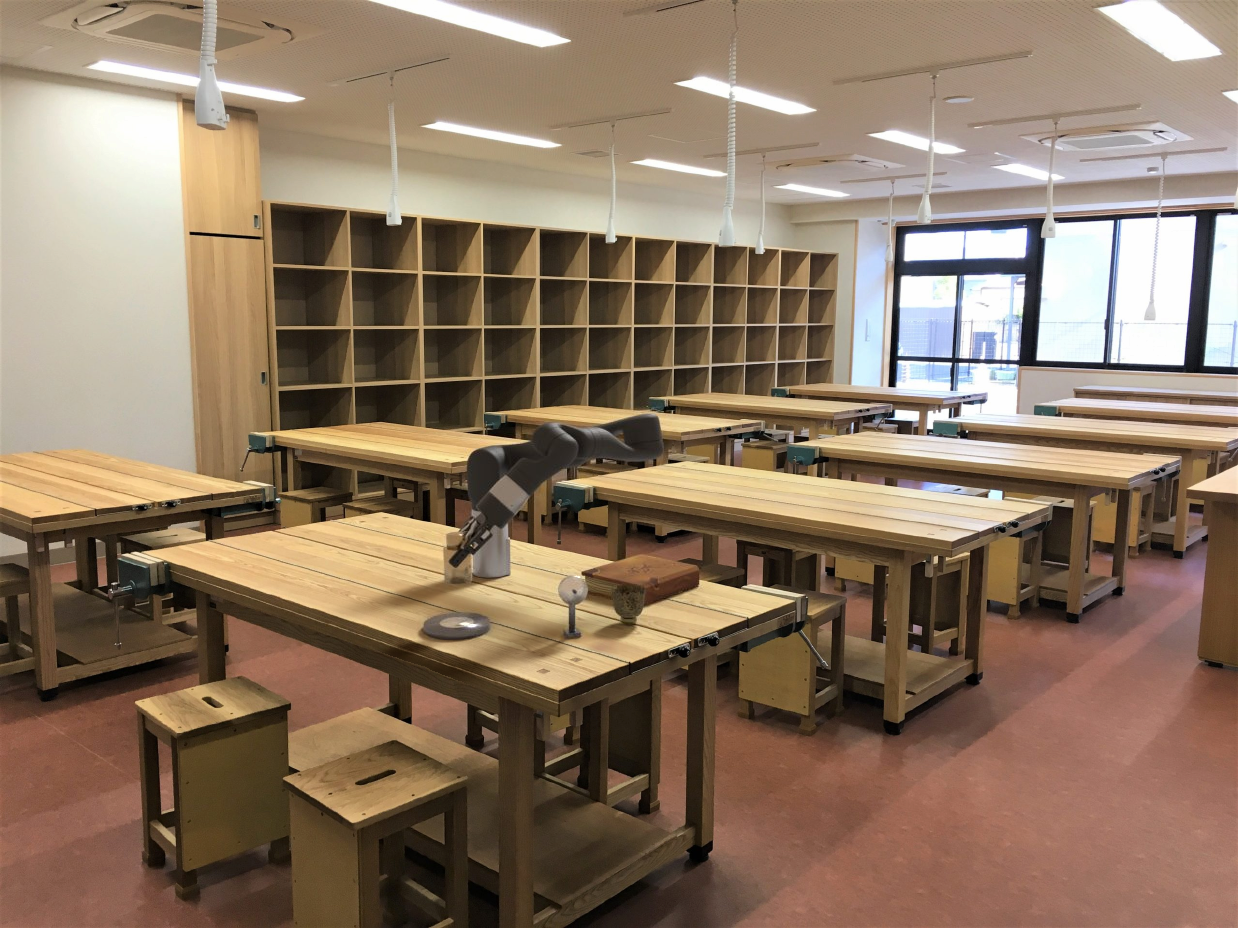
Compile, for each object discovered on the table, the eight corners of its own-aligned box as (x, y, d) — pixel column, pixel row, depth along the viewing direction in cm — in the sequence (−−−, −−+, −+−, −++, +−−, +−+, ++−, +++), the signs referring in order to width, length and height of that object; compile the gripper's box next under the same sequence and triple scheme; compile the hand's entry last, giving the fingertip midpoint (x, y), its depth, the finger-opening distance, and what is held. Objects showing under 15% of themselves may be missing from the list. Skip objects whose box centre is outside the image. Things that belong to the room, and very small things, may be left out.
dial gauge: (583, 631, 201) (583, 572, 199) (589, 637, 197) (589, 576, 195) (556, 634, 199) (555, 574, 197) (561, 640, 195) (561, 579, 193)
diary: (641, 609, 219) (641, 585, 218) (581, 594, 230) (581, 571, 230) (699, 587, 236) (699, 565, 235) (640, 574, 248) (640, 553, 247)
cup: (626, 615, 212) (626, 580, 211) (652, 622, 207) (652, 586, 206) (604, 623, 206) (604, 588, 205) (631, 630, 202) (631, 594, 200)
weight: (469, 575, 204) (467, 530, 203) (474, 582, 199) (473, 535, 197) (442, 578, 202) (440, 532, 201) (446, 585, 197) (445, 538, 195)
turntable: (483, 616, 211) (482, 609, 211) (496, 635, 198) (496, 628, 198) (419, 622, 207) (419, 615, 206) (428, 642, 194) (428, 635, 193)
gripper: (523, 519, 196) (468, 581, 194) (508, 506, 209) (456, 564, 207) (497, 496, 194) (441, 558, 191) (483, 484, 207) (430, 542, 205)
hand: (449, 561), depth 199 cm, fingers closed on weight, 5 cm apart
